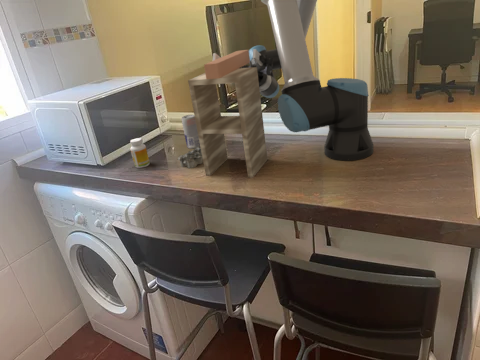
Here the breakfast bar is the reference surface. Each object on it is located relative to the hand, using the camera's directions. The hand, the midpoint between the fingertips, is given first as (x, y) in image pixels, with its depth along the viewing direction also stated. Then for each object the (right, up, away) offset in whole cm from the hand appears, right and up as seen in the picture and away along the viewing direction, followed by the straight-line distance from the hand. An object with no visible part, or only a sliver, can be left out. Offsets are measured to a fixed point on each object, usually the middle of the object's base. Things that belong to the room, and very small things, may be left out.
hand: (233, 55), depth 117 cm
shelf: (+1, -34, +7) cm, 35 cm away
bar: (-1, -5, -2) cm, 6 cm away
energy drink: (-16, -25, +32) cm, 44 cm away
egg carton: (-14, -32, +17) cm, 39 cm away
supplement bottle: (-33, -33, +20) cm, 51 cm away
